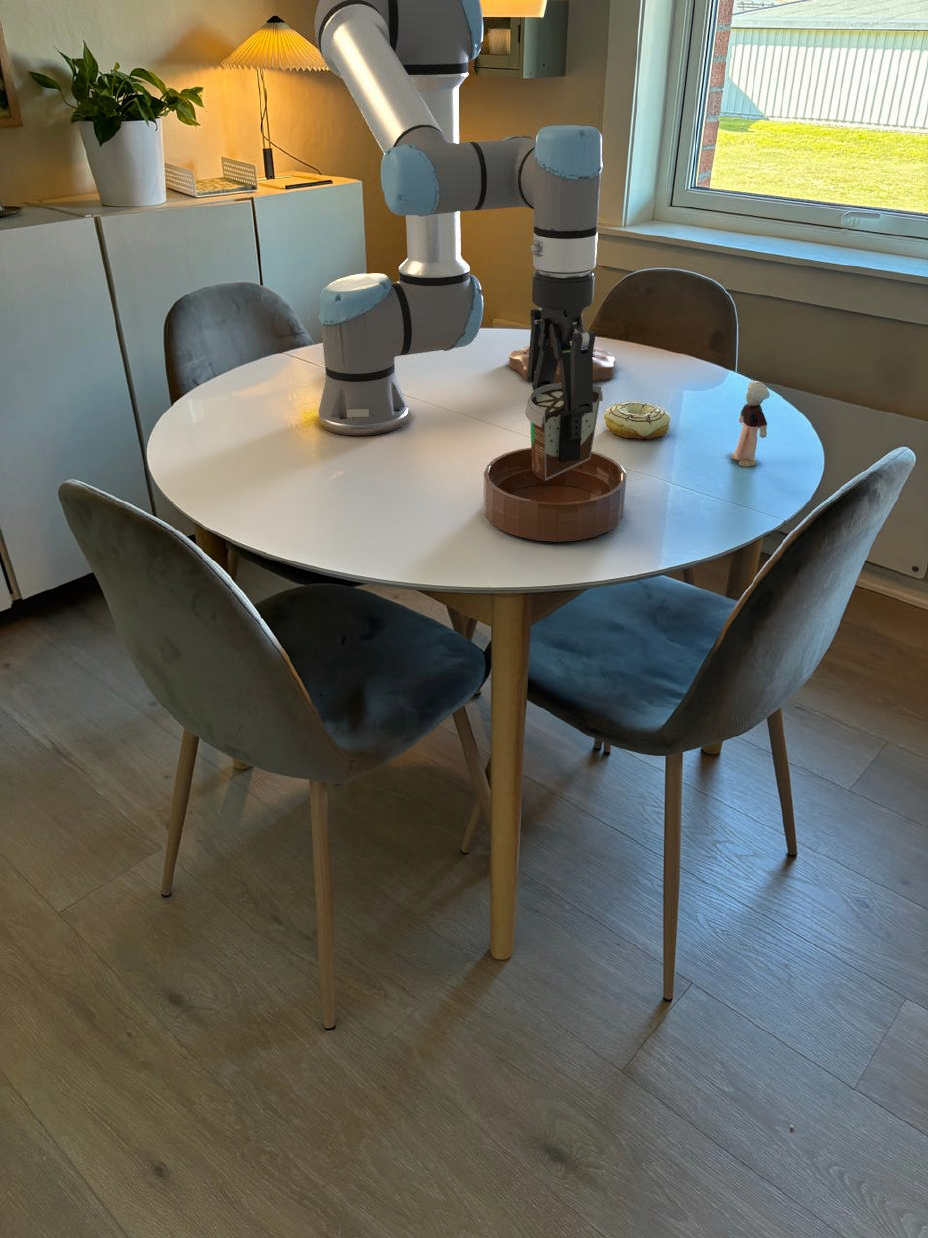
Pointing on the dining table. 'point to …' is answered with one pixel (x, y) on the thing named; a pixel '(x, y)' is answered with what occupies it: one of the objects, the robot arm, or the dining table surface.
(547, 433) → the food container
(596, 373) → the plant
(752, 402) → the grandmother figurine
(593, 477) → the bowl
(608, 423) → the decorated donut
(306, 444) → the dining table surface
